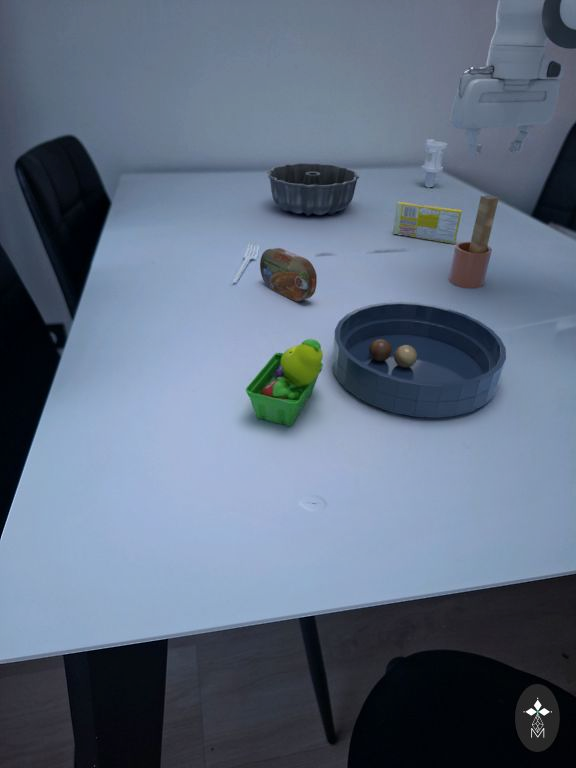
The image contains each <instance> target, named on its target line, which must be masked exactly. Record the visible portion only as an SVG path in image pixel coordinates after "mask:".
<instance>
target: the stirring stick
mask: <svg viewBox="0 0 576 768" xmlns="http://www.w3.org/2000/svg"><path fill="white" fill-rule="evenodd" d="M499 200H500V199H499V197H497V196H494V195H493V194H486V195H480V198H479V203H478V207H477V212H476V216H475V221H474V226H473V230H472V235H471V239H470V242H471V243H470V248H469V252H471V253H486V250H487V246H489V241H490V236H491V232H492V230H493V229H492V227H493V224H494V220H495V216H496V212H497V208H498V204H499Z"/></svg>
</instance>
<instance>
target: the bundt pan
mask: <svg viewBox="0 0 576 768" xmlns="http://www.w3.org/2000/svg"><path fill="white" fill-rule="evenodd" d="M267 178H268V179H269V183H270V190H271V195H272V199H273V201H274V203H275V204H276V205H277V206H278V207H280V208H281V209H282V210H283V211H284V212H287V211H292V212H291V213H293V214H295V215H300V214H305V216H307V217H309V216H310V215H312V214H314V215H317V216H323V215H325V214H326V213H328V214H327V215H333V214H335V213H336V211H337V212H340V211H342V210H344V209H345V208H346V207H347V206H349V205H350V203H351V202H352V201H353V198H354V196H355V190H356V186H357V182H358V180H359V179H360V176H359V175H358V172H357V171H356V170H353V169H350V168H348V167H346V166H340V165H337V164H331V163H320V162H314V163H311V162H296V163H285V164H283V165H278V166H277V165H276V166H274V167H272V168H271V169H269V170H267Z"/></svg>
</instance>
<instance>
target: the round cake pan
mask: <svg viewBox="0 0 576 768" xmlns="http://www.w3.org/2000/svg"><path fill="white" fill-rule="evenodd" d="M335 326H336V327H335V328H334V333H333V334H334V335H333V347H332V358H331V359H332V360H331V361H332V365H331V366H332V370H333V373H334V375H335V379H336V380H337V381H338V382H339V383H340V384H341V386H343V388H344V389H345V390H347V391H348V392H349V393H350V394H352V395H353V396H355V397H356V398H358V399H359V400H361V401H364V402H365V403H367V404H369V405H371V406H373V407H376V408H379V409H382V410H383V411H384V410H385V411H387V412H391V413H393V414H399V415H404V416H405V415H406V416H410V417H417V418H447V417H448V418H449V417H456V416H461V415H464V414H468V413H471V412H472V413H473V412H474V411H476V410H478V409H480V408H482V407H485V405H487V403H488V402H490V401H491V400H492V399H493V398H494V396H495V394H496V392H497V389H498V386H499V384H500V380H501V377H502V373H503V370H504V366H505V363H506V360H507V349H506V346H505V344H504V342H503V340H502V338H501V337H500V336H499V335H498V334H497V333H496V332H495V331H494V329H492V328H491V327H489V326H488V325H486V324H484V323H483V322H481V321H480V320H478V319H476V318H474V317H471V316H469V315H468V314H465V313H462V312H459V311H457V310H455V309H450V308H447V307H443V306H439V305H434V304H428V303H420V302H410V301H409V302H408V301H398V302H397V301H392V302H380V303H375V304H369V305H366V306H363V307H359V308H356V309H355V310H352V311H351V312H348V313H347V314H345V315H344V316H343V317H342V318H341V319H340V320H339V321H338V323H337V324H336V325H335ZM377 339H384V340H386V341H388V342H389V343H390V345H391V348H392V352H391V355H390V357H389V358H388V359H387V360H385V361H376V360H374V359H373V358H372V357H371V356H370V354H369V347H370V345H371V343H372V342H373V341H375V340H377ZM402 345H409V346H412V347H413V348H414V349H415V350H416V352H417V360H416V362H415V364H414V365H412V366H411V367H408V368H403V367H400V366H399V365H397V364H396V362H395V360H394V353H395V351H396V349H397V348H398V347H400V346H402Z"/></svg>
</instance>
